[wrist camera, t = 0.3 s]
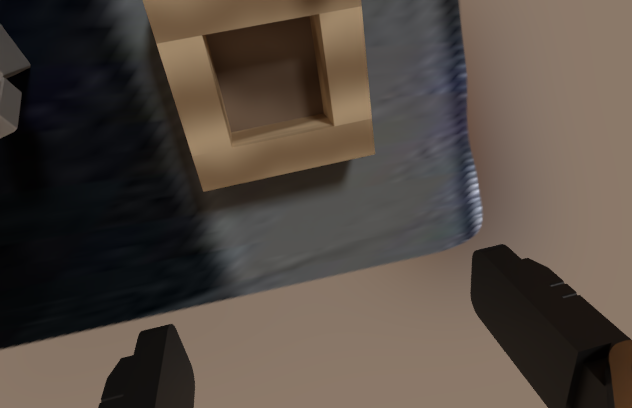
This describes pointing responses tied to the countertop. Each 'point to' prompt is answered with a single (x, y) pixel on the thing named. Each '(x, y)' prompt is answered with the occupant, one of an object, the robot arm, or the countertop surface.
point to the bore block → (265, 84)
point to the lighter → (3, 97)
